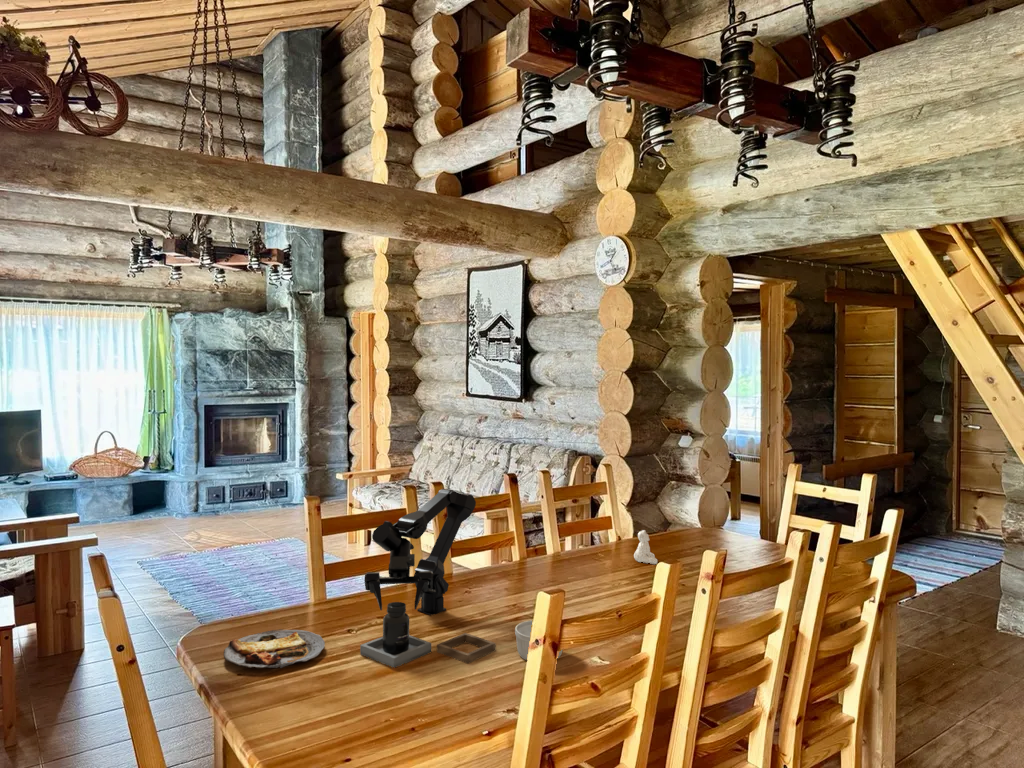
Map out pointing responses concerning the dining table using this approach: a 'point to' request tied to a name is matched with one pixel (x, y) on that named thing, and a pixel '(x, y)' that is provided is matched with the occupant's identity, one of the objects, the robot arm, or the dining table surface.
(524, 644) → the ramekin
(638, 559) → the white creature statuette
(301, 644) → the food plate
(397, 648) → the supplement bottle
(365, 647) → the grey tray
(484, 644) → the walnut collar
